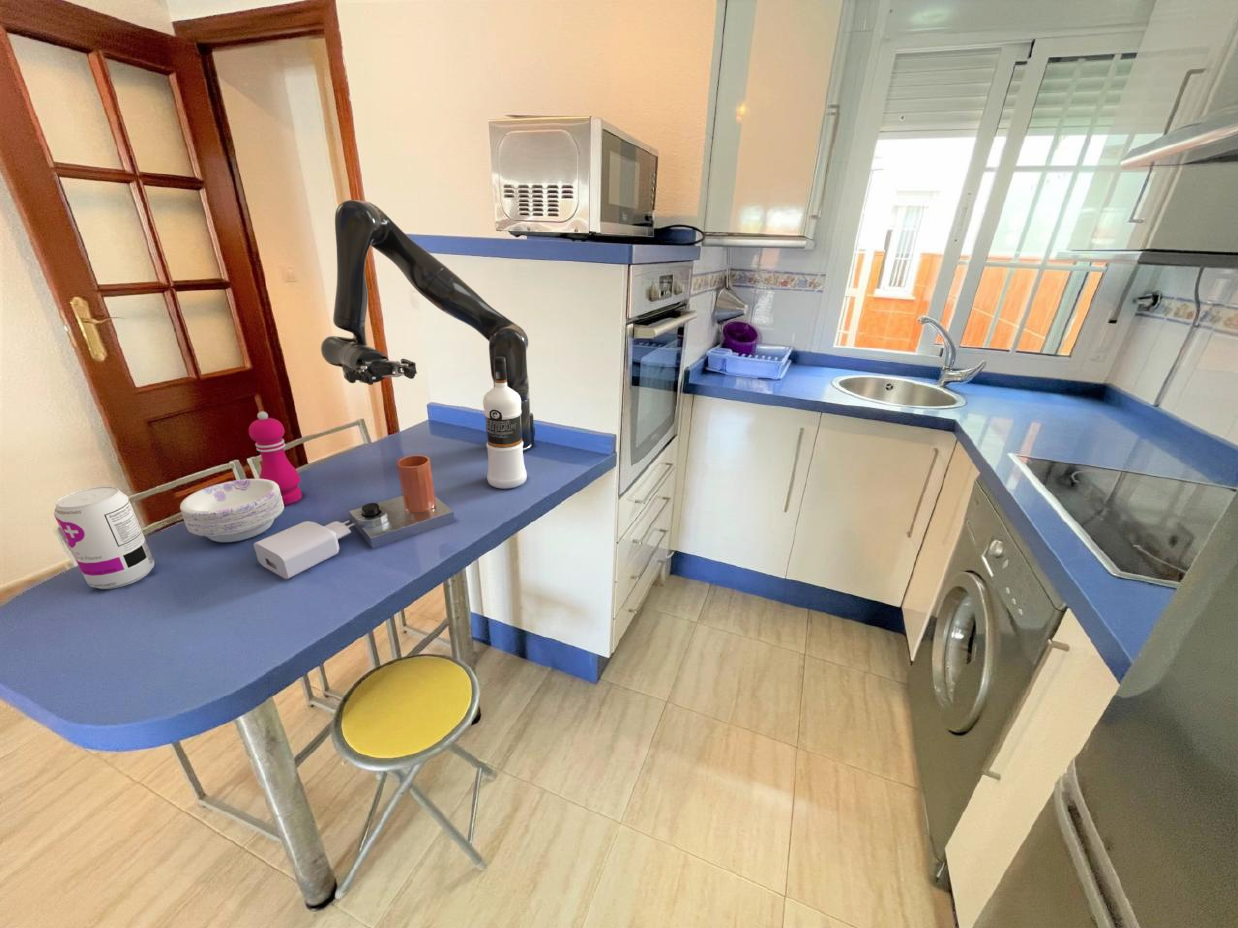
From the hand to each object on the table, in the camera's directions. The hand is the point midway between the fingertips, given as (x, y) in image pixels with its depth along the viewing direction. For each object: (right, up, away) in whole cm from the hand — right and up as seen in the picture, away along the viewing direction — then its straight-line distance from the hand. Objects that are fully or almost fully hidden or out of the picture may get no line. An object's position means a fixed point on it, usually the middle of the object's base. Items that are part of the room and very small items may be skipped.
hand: (392, 377), depth 106 cm
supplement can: (-34, -37, -23) cm, 56 cm away
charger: (-7, -35, -15) cm, 38 cm away
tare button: (0, -28, -9) cm, 30 cm away
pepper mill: (-25, -26, +3) cm, 36 cm away
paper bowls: (-25, -31, -9) cm, 41 cm away
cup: (+7, -27, -2) cm, 28 cm away
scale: (+4, -30, -4) cm, 31 cm away
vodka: (+21, -23, +14) cm, 34 cm away
